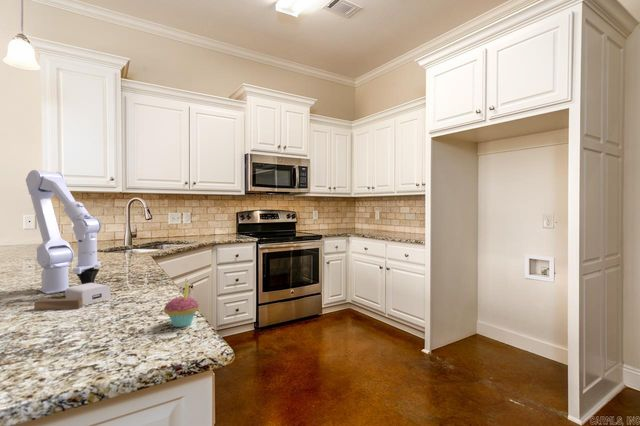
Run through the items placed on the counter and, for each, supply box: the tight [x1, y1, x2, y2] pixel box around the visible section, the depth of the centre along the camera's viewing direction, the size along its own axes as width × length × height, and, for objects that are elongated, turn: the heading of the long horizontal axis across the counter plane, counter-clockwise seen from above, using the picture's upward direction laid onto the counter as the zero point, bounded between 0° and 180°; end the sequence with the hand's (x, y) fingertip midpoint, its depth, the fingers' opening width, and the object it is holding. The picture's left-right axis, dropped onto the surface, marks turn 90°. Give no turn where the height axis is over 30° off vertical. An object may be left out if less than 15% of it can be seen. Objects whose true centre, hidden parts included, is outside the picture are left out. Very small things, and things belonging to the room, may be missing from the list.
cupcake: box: [163, 280, 200, 328], centre depth 90 cm, size 9×8×12 cm
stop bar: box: [33, 298, 84, 311], centre depth 103 cm, size 2×12×2 cm, turn 99°
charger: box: [64, 282, 112, 305], centre depth 113 cm, size 5×9×15 cm
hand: (87, 290), depth 120 cm, fingers closed
